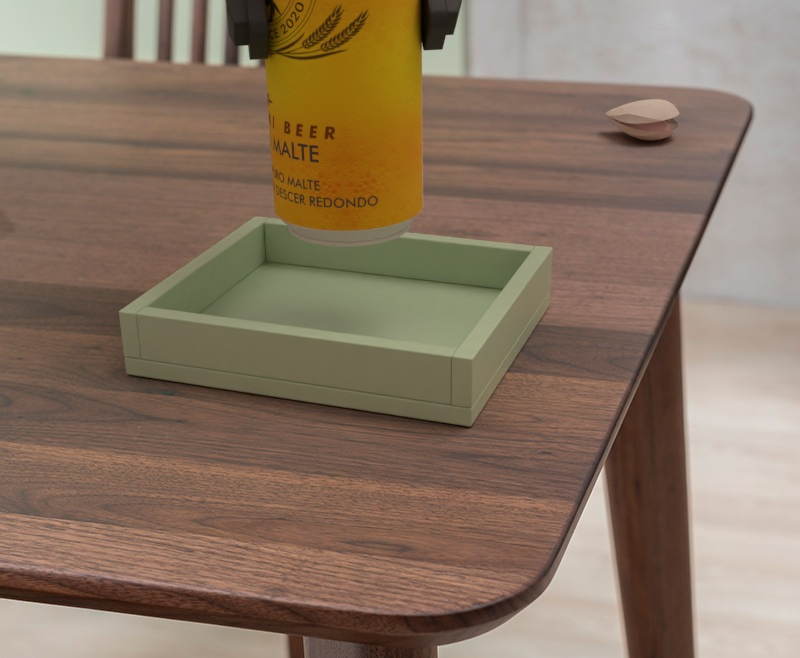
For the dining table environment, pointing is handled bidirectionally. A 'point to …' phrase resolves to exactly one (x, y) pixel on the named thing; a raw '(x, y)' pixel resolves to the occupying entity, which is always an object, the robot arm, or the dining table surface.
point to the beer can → (345, 118)
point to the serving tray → (344, 320)
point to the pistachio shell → (645, 119)
